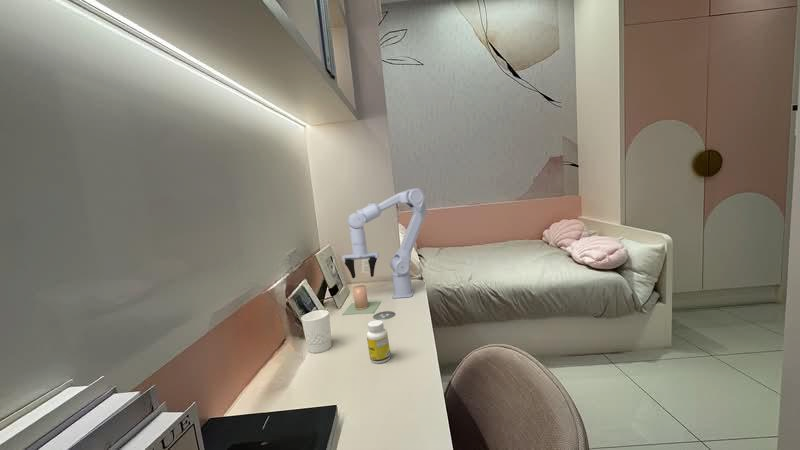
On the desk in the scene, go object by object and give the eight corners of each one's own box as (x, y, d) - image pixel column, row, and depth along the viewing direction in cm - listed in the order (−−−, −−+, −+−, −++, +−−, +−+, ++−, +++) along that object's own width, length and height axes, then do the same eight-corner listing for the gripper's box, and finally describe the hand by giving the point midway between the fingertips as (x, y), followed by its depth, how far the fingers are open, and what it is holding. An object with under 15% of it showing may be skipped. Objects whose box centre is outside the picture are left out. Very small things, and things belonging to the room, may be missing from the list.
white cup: (336, 340, 106) (332, 309, 105) (329, 353, 98) (323, 319, 97) (312, 342, 107) (307, 311, 106) (302, 355, 99) (296, 321, 98)
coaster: (375, 313, 127) (375, 311, 127) (397, 311, 126) (397, 310, 126) (370, 321, 119) (370, 320, 119) (393, 320, 118) (393, 319, 118)
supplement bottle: (367, 357, 93) (362, 322, 92) (386, 351, 94) (382, 317, 93) (373, 366, 88) (368, 328, 87) (393, 360, 89) (388, 323, 88)
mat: (351, 303, 140) (351, 303, 140) (380, 301, 138) (380, 301, 138) (342, 315, 128) (342, 314, 128) (373, 313, 126) (373, 312, 126)
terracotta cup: (357, 305, 136) (354, 285, 135) (370, 304, 135) (367, 284, 134) (353, 310, 131) (350, 289, 130) (366, 309, 130) (364, 288, 129)
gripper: (337, 246, 135) (342, 280, 136) (374, 243, 132) (378, 278, 134) (343, 243, 142) (348, 276, 143) (378, 240, 139) (382, 273, 140)
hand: (363, 276), depth 139 cm, fingers open, 7 cm apart
